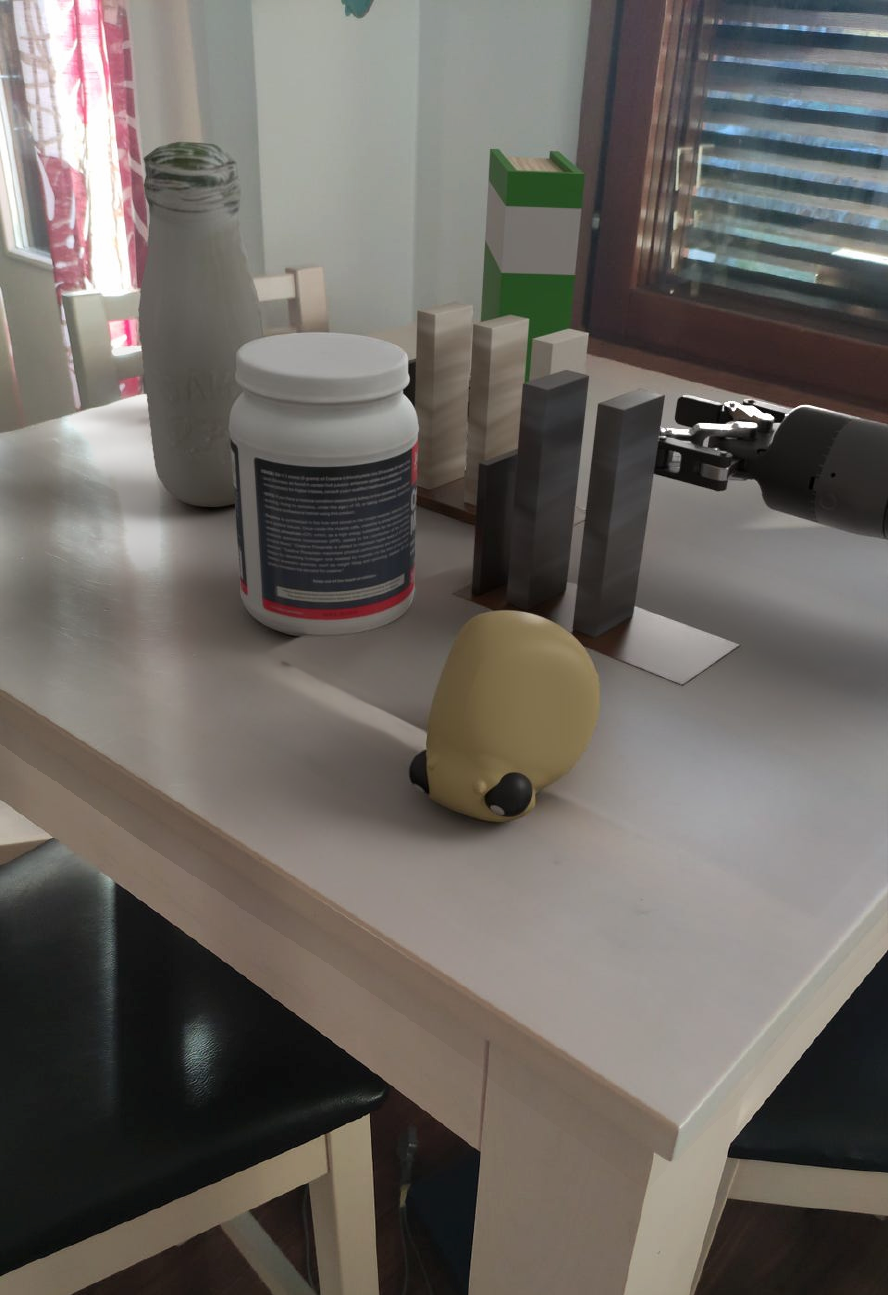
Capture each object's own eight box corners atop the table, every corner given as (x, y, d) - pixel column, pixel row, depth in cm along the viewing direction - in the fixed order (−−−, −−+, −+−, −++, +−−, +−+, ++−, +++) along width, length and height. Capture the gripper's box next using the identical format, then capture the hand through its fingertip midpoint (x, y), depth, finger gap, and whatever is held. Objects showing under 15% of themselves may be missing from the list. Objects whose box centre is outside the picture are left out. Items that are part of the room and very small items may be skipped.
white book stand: (598, 524, 102) (620, 334, 93) (544, 550, 97) (563, 351, 88) (426, 467, 112) (431, 291, 103) (369, 487, 107) (369, 304, 98)
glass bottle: (158, 526, 98) (118, 149, 82) (157, 483, 106) (120, 132, 90) (276, 521, 100) (259, 151, 84) (266, 479, 108) (249, 135, 92)
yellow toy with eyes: (430, 805, 73) (348, 766, 63) (502, 629, 73) (432, 563, 64) (569, 860, 68) (503, 825, 59) (645, 671, 69) (592, 607, 59)
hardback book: (477, 376, 139) (490, 148, 125) (539, 378, 139) (558, 151, 126) (491, 423, 124) (507, 171, 111) (560, 424, 125) (584, 174, 111)
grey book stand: (738, 657, 83) (787, 417, 73) (680, 698, 78) (725, 446, 68) (514, 573, 93) (532, 353, 83) (450, 605, 88) (461, 374, 78)
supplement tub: (450, 611, 87) (462, 358, 76) (317, 666, 79) (310, 393, 69) (336, 557, 94) (333, 319, 84) (205, 603, 86) (183, 346, 76)
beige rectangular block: (570, 512, 102) (589, 332, 93) (536, 527, 98) (552, 343, 90) (551, 506, 103) (568, 328, 94) (517, 521, 99) (532, 338, 91)
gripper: (899, 398, 84) (703, 353, 93) (811, 443, 75) (603, 388, 84) (873, 498, 89) (688, 446, 97) (787, 551, 80) (591, 489, 88)
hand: (649, 419), depth 90 cm, fingers open, 8 cm apart
